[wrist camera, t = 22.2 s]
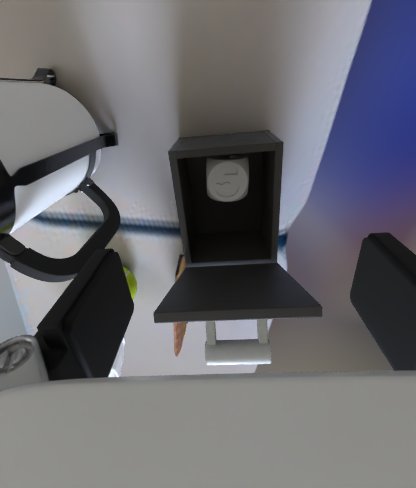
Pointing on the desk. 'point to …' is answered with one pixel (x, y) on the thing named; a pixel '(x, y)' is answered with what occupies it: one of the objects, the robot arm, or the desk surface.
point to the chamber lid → (236, 306)
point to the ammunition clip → (179, 326)
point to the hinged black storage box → (228, 213)
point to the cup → (118, 361)
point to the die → (227, 177)
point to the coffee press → (47, 169)
